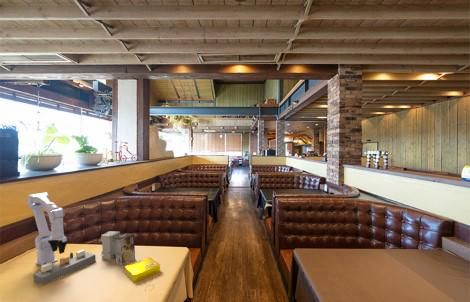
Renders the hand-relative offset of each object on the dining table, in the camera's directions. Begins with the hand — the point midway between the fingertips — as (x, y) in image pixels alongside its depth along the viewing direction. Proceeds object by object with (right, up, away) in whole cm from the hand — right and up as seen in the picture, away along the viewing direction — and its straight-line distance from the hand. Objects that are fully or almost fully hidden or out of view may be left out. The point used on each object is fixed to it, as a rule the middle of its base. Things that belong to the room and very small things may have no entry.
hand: (58, 252), depth 139 cm
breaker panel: (+8, -9, -3) cm, 12 cm away
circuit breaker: (+28, -9, +12) cm, 31 cm away
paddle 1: (+2, -5, -11) cm, 12 cm away
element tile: (+53, -9, -8) cm, 55 cm away
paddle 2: (+10, -5, +5) cm, 12 cm away
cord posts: (0, -9, 0) cm, 9 cm away
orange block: (+6, -5, -3) cm, 8 cm away
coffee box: (+38, -8, +5) cm, 39 cm away
